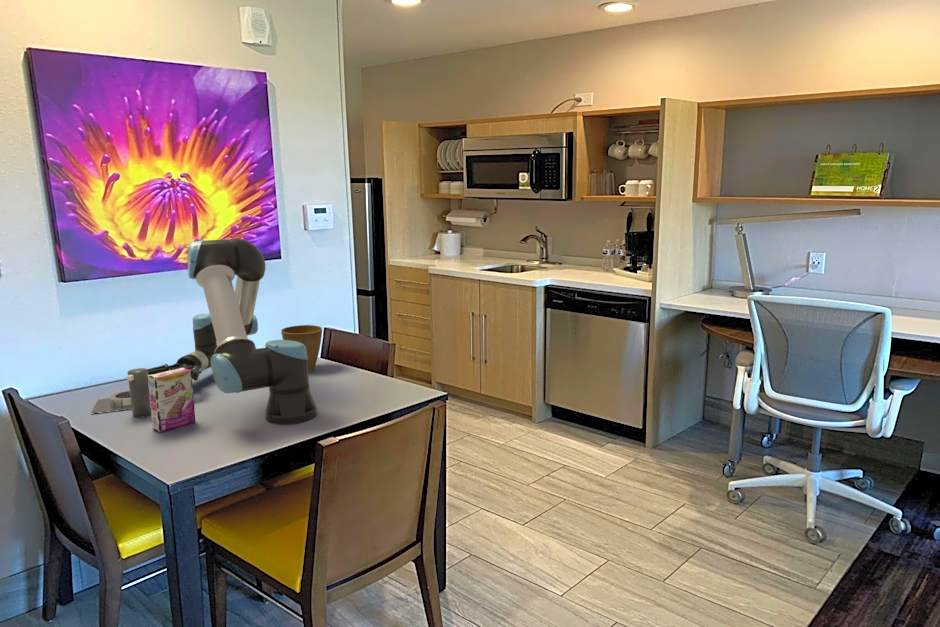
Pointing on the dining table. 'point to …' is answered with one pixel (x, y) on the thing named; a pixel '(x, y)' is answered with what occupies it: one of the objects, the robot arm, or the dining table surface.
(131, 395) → the grey tall cylinder
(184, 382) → the candy bar box
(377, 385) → the dining table surface
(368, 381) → the dining table surface
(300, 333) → the plant pot
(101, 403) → the well
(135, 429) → the dining table surface
